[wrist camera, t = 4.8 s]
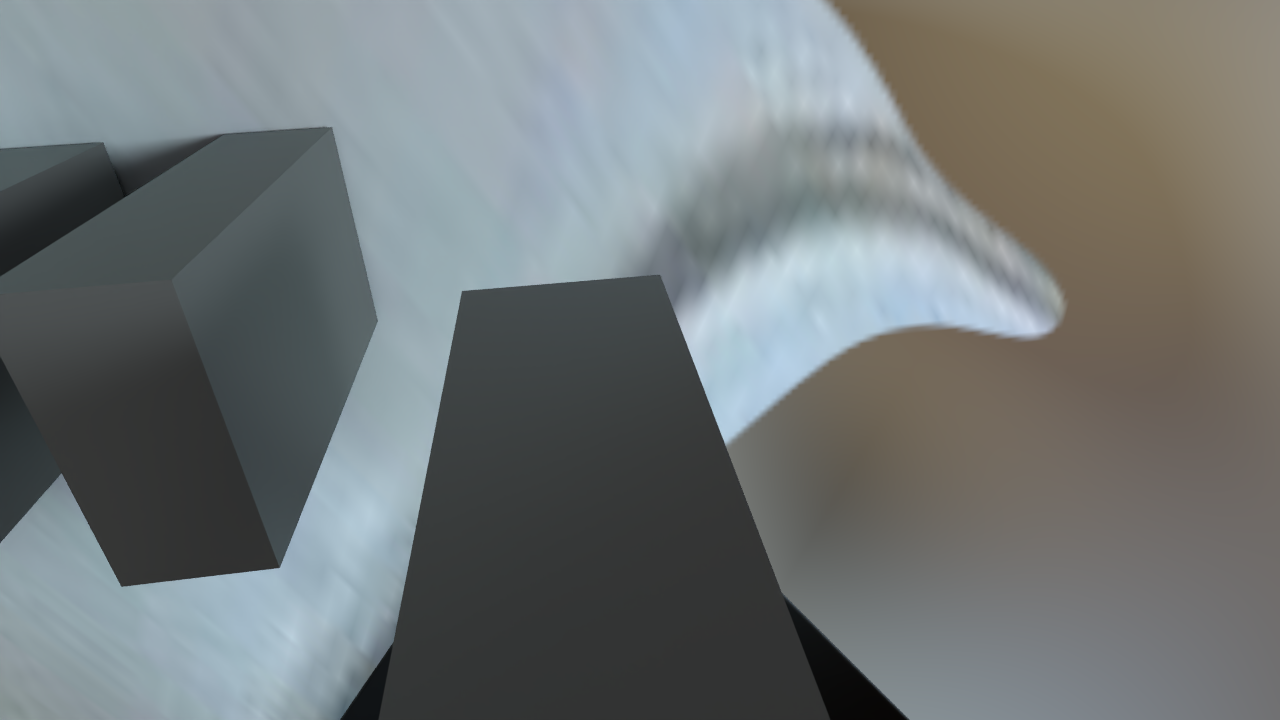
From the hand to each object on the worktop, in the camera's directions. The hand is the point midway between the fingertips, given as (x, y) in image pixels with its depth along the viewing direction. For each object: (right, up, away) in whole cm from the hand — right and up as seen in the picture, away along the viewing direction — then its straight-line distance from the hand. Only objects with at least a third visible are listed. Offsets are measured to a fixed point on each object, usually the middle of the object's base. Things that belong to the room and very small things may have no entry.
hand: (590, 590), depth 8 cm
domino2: (-8, +6, +10) cm, 14 cm away
